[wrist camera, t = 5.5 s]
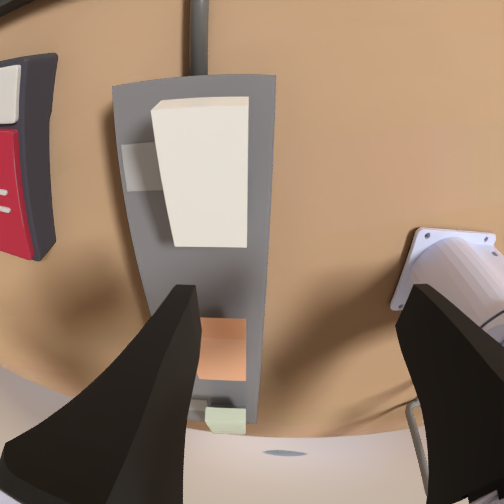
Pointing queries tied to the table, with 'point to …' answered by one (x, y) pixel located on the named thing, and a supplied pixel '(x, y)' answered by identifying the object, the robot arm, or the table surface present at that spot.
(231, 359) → the rocker middle
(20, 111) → the calculator
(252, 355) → the power strip
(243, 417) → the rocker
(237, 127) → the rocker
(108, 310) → the table surface
